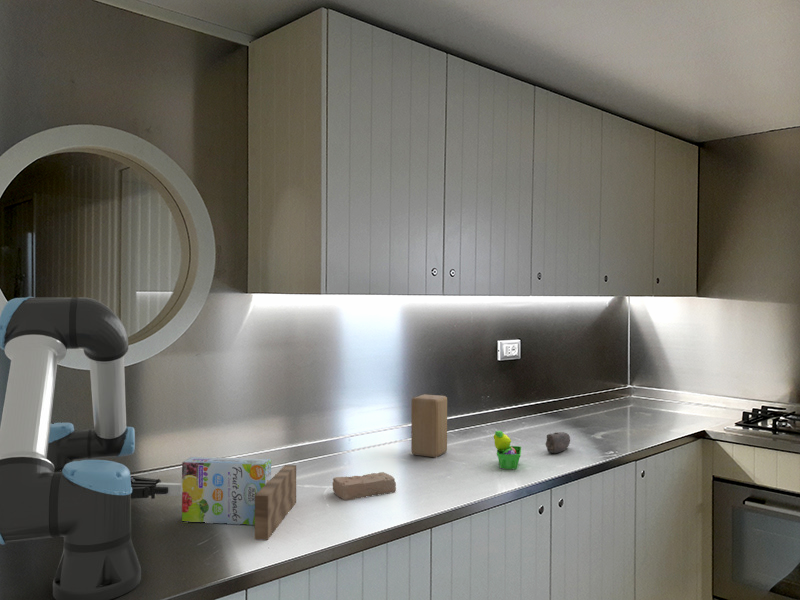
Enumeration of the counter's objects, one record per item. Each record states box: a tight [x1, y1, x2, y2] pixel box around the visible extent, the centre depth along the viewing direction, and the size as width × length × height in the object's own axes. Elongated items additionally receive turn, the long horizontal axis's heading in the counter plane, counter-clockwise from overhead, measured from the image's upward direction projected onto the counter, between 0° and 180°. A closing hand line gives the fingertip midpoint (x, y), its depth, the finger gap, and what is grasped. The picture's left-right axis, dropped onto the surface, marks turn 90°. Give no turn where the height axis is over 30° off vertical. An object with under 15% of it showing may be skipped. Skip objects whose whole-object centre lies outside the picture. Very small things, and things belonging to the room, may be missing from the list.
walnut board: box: [254, 464, 297, 541], centre depth 156 cm, size 26×3×10 cm, turn 175°
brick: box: [332, 471, 397, 501], centre depth 178 cm, size 17×8×5 cm, turn 119°
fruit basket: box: [493, 430, 522, 470], centre depth 207 cm, size 11×9×11 cm
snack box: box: [181, 456, 272, 526], centre depth 155 cm, size 21×6×15 cm, turn 84°
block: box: [410, 393, 448, 458], centre depth 222 cm, size 10×10×20 cm
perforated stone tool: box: [545, 431, 571, 454], centre depth 226 cm, size 15×5×7 cm, turn 137°
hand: (182, 489), depth 158 cm, fingers closed
